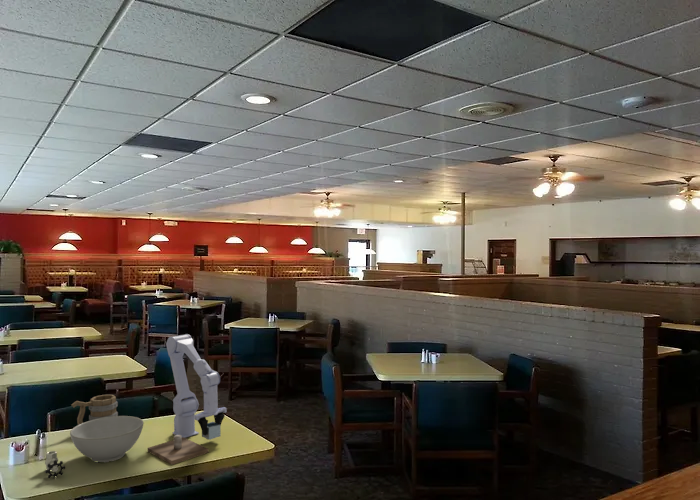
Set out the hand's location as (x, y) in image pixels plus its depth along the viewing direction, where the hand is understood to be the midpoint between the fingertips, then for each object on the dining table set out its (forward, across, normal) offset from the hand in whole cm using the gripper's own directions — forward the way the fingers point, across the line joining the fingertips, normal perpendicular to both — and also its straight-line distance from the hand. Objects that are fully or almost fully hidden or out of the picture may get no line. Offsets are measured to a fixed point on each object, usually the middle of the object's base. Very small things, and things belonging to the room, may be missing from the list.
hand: (211, 432), depth 228 cm
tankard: (+5, -27, +55) cm, 61 cm away
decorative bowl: (+4, -36, +18) cm, 40 cm away
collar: (+2, 0, 0) cm, 2 cm away
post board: (+4, -15, +1) cm, 16 cm away
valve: (+5, -56, +18) cm, 59 cm away
